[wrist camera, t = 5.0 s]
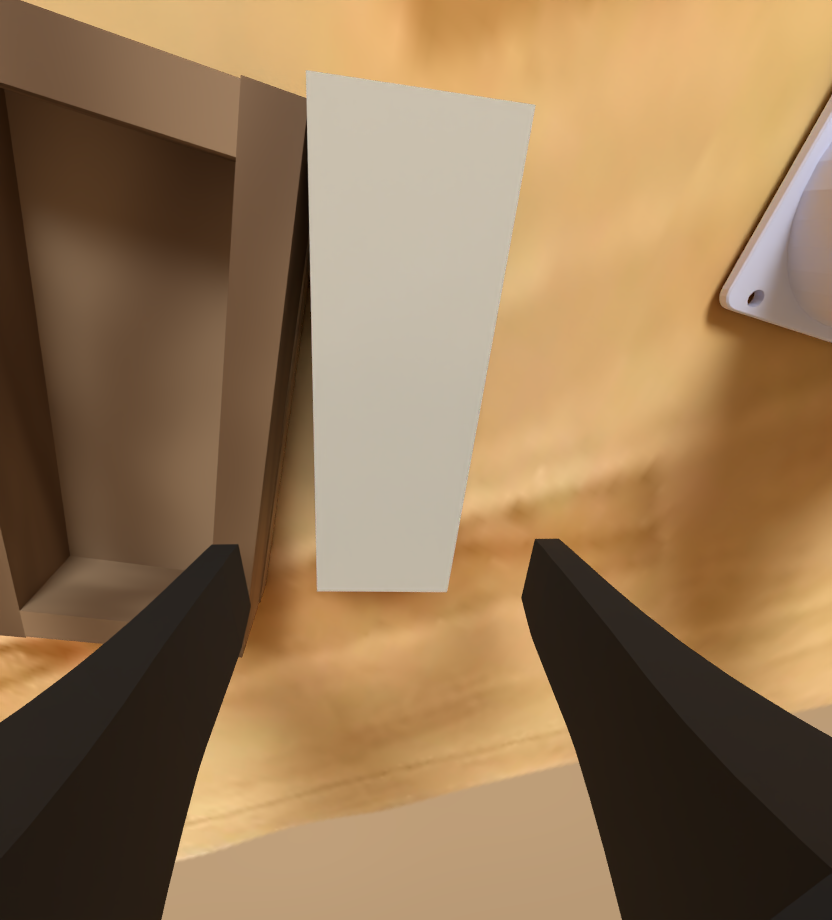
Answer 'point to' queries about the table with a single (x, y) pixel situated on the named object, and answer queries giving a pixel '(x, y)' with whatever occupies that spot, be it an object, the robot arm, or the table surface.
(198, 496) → the shallow brown tray
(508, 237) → the rectangular block
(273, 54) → the table surface
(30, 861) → the robot arm
